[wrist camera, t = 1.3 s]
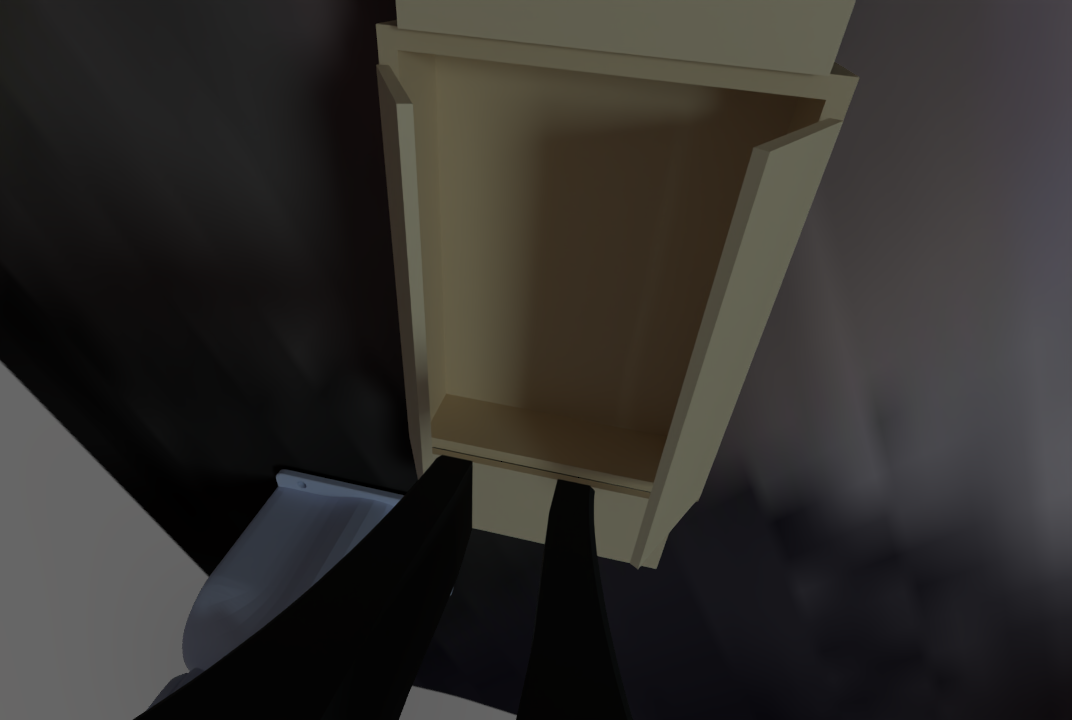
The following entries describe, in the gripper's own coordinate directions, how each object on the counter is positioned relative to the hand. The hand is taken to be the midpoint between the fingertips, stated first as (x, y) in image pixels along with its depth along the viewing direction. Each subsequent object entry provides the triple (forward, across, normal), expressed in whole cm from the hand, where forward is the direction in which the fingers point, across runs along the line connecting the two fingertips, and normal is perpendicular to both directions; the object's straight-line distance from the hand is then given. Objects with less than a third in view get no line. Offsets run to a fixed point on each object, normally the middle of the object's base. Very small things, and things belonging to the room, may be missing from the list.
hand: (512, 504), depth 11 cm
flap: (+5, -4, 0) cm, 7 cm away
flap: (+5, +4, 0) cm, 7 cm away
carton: (+10, 0, 0) cm, 10 cm away
